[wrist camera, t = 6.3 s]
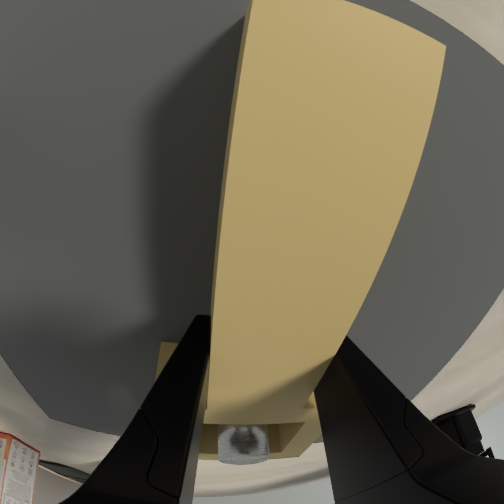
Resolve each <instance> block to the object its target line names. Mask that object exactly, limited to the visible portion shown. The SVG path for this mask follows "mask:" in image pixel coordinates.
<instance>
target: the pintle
mask: <svg viewBox="0 0 504 504" xmlns="http://www.w3.org/2000/svg"><path fill="white" fill-rule="evenodd" d="M217 436H218V460H219V461H220V462H222V463H226V464H234V465H245V464H254V463H259V462H263V461H266V460H268V459H269V458H270V454H269V445H268V437H267V428H266V424H217Z"/></svg>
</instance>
